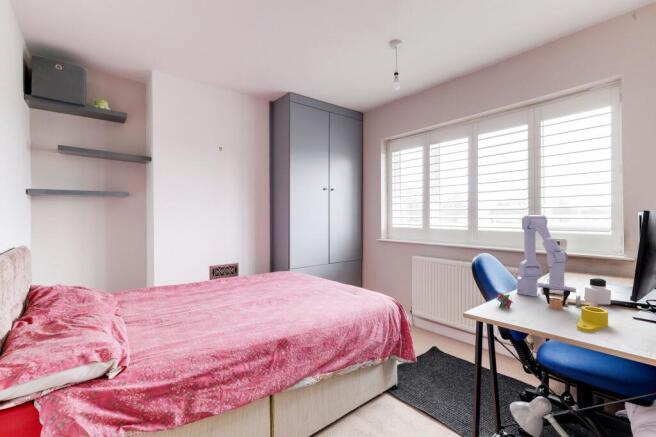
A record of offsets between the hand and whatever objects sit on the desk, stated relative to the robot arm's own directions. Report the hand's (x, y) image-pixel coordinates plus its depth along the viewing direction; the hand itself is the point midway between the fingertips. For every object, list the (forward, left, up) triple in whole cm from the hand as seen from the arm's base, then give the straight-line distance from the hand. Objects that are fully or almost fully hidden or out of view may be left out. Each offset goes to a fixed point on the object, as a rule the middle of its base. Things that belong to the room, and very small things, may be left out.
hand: (556, 304), depth 145 cm
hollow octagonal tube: (0, 0, -1) cm, 1 cm away
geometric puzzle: (-19, -15, -2) cm, 24 cm away
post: (+8, +8, -1) cm, 11 cm away
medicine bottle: (+15, +23, -2) cm, 27 cm away
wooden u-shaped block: (+8, +11, -1) cm, 14 cm away
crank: (+13, -18, -2) cm, 22 cm away
